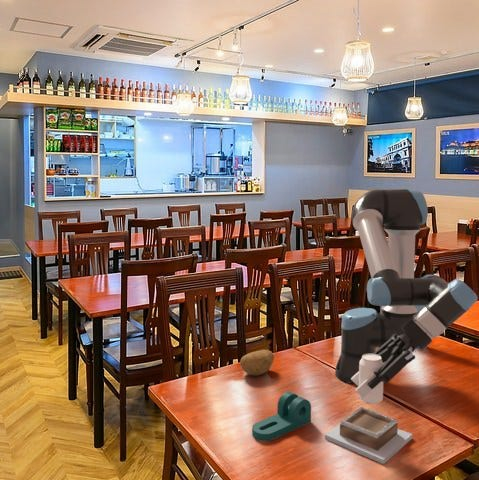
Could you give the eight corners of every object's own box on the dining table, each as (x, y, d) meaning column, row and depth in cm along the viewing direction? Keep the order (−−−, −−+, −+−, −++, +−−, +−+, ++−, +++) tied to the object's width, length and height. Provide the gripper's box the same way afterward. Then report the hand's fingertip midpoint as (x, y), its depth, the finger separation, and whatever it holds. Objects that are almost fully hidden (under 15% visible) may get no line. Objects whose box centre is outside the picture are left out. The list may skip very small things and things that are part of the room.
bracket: (294, 413, 146) (294, 388, 145) (310, 422, 141) (311, 396, 140) (247, 434, 135) (247, 407, 134) (263, 444, 130) (263, 416, 129)
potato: (281, 371, 176) (281, 350, 175) (253, 383, 166) (253, 360, 165) (262, 364, 183) (262, 343, 182) (234, 374, 173) (233, 353, 172)
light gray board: (324, 438, 132) (325, 434, 132) (355, 416, 144) (355, 413, 143) (383, 464, 120) (383, 459, 120) (411, 438, 132) (412, 434, 132)
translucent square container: (339, 434, 132) (340, 424, 131) (360, 419, 140) (361, 409, 139) (377, 450, 124) (377, 439, 124) (397, 433, 132) (397, 423, 132)
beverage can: (353, 397, 132) (354, 354, 130) (373, 393, 134) (374, 351, 132) (367, 407, 126) (368, 362, 124) (387, 403, 128) (389, 359, 127)
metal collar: (341, 424, 131) (341, 420, 131) (361, 410, 139) (361, 406, 139) (377, 439, 124) (377, 435, 124) (396, 423, 132) (396, 419, 131)
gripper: (445, 352, 117) (374, 415, 121) (421, 327, 136) (360, 382, 139) (424, 330, 117) (352, 394, 120) (402, 308, 136) (341, 364, 139)
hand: (356, 387), depth 130 cm, fingers closed on beverage can, 6 cm apart
